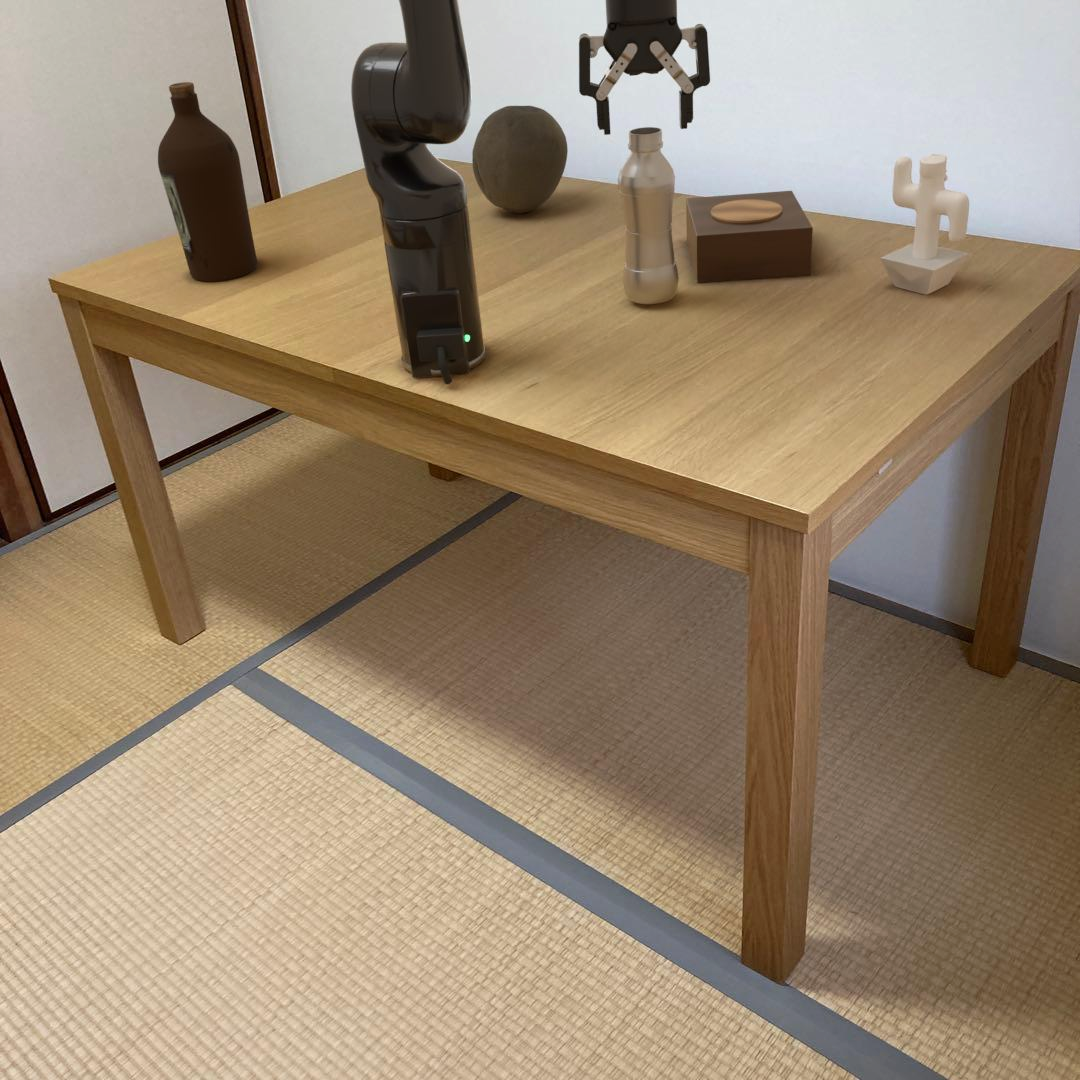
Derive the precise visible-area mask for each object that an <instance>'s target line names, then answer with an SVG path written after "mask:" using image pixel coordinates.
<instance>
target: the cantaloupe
mask: <svg viewBox="0 0 1080 1080" xmlns="http://www.w3.org/2000/svg"><path fill="white" fill-rule="evenodd" d="M568 150H569V149H568V141H567V137H566V134H565V133H564V130H563V128H562V126H561V125H560V124H559V122H558V121H557V120H556V119H555V117H554V116H553V115H552V114H550V113H549V112H548V111H546V110H545V109H543V108H541V107H538V106H533V105H507V106H503V107H502V108H501V107H500V108H499V109H497V110H494V111H493V112H492V113H490V114H489V115H488V116H487V117H486V118H485V119H484V120H483V123H482V124H481V127H480V129H479V130H478V133H477V135H476V138H475V140H474V143H473V148H472V159H471V161H472V173H473V175H474V178H475V181H476V183H477V186H478V188H479V189H480V191H481V192H482V194H483V196H484V197H485V199H487V200H488V201H489V202H490V203H491V204H492V205H493V206H495V207H498V208H501V209H504V210H506V211H509V212H512V213H514V214H525V213H528V212H531V211H533V210H535V209H537V208H538V207H540V206H542V205H543V204H544V203H546V201H548V200H549V199H550V197H551V196H552V195H553V194H554V192H555V191H556V189H557V187H558V186H559V185H560V181H561V180H562V177H563V175H564V172H565V168H566V165H567V159H568V152H569V151H568Z"/></svg>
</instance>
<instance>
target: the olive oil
mask: <svg viewBox="0 0 1080 1080" xmlns="http://www.w3.org/2000/svg"><path fill="white" fill-rule="evenodd" d="M168 90H169V93H170V95H171V96H170V102H171V106H172V110H173V112H174V113H173V114H174V117H173V120H172V121H171V124H169V127H168V129H167V130H166V132H165V134H164V135H163V137H162V139H161V141H160V143H159V145H158V150H157V165H158V171H159V175H160V177H161V181H162V184H163V187H164V190H165V194H166V197H167V200H168V203H169V206H170V209H171V212H172V213H171V214H172V216H173V219H174V223H175V226H176V230H177V232H178V236H179V239H180V243H181V247H182V250H183V252H184V256H185V260H186V263H187V266H188V267H187V268H188V270H189V274H190V277H191V278H193V279H194V280H197V281H201V282H221V281H227V280H228V281H229V280H232V279H237V278H240V277H243V276H245V275H248V274H251V273H252V272H253V271H255V270H256V269H257V267H258V258H257V257H258V256H257V253H256V248H255V247H256V246H255V243H254V237H253V231H252V226H251V221H250V215H249V208H248V204H247V196H246V191H245V184H244V177H243V173H242V172H243V171H242V165H241V160H240V155H239V152H238V149H237V147H236V145H235V143H234V141H233V139H232V138H231V136H229V134H228V133H227V132H226V131H225V130H223V129H222V128H220V126H218V125H217V124H216V123H214V122H213V121H212V120H210V119H209V118H208V117H206V116H205V115H204V114H203V112H202V111H201V109H200V103H199V98H198V94H197V92H195V85H194V83H193V82H190V81H182V82H177V83H172V84H169V86H168Z"/></svg>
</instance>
